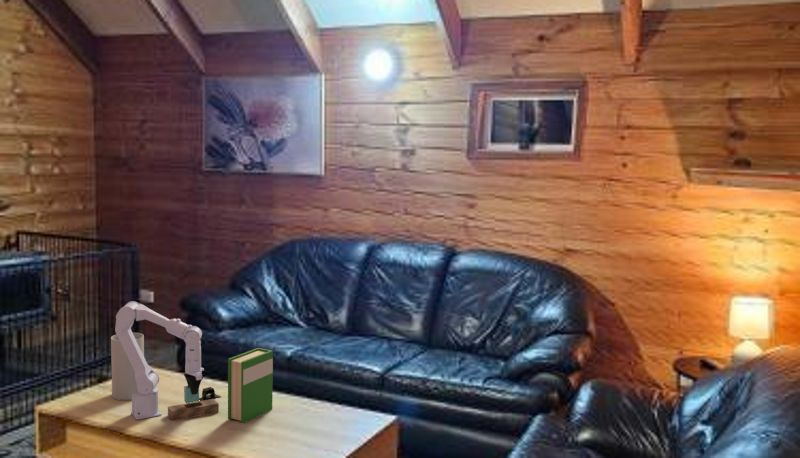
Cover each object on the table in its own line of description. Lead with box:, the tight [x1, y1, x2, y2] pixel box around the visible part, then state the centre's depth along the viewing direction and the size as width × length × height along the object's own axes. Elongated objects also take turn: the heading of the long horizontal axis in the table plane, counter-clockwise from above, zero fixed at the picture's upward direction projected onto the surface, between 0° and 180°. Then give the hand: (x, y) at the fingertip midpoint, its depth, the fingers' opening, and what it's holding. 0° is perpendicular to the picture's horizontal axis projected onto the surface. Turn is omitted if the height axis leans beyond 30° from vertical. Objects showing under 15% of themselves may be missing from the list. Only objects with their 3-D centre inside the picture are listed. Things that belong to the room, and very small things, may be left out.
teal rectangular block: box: [183, 385, 200, 404], centre depth 277 cm, size 5×2×6 cm, turn 123°
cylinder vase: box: [110, 332, 145, 401], centre depth 294 cm, size 12×12×25 cm
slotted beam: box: [167, 399, 220, 421], centre depth 278 cm, size 18×6×4 cm, turn 124°
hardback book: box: [227, 347, 274, 424], centre depth 278 cm, size 18×7×24 cm, turn 152°
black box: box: [199, 386, 222, 401], centre depth 295 cm, size 12×7×5 cm, turn 137°
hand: (193, 392), depth 277 cm, fingers closed on teal rectangular block, 2 cm apart
